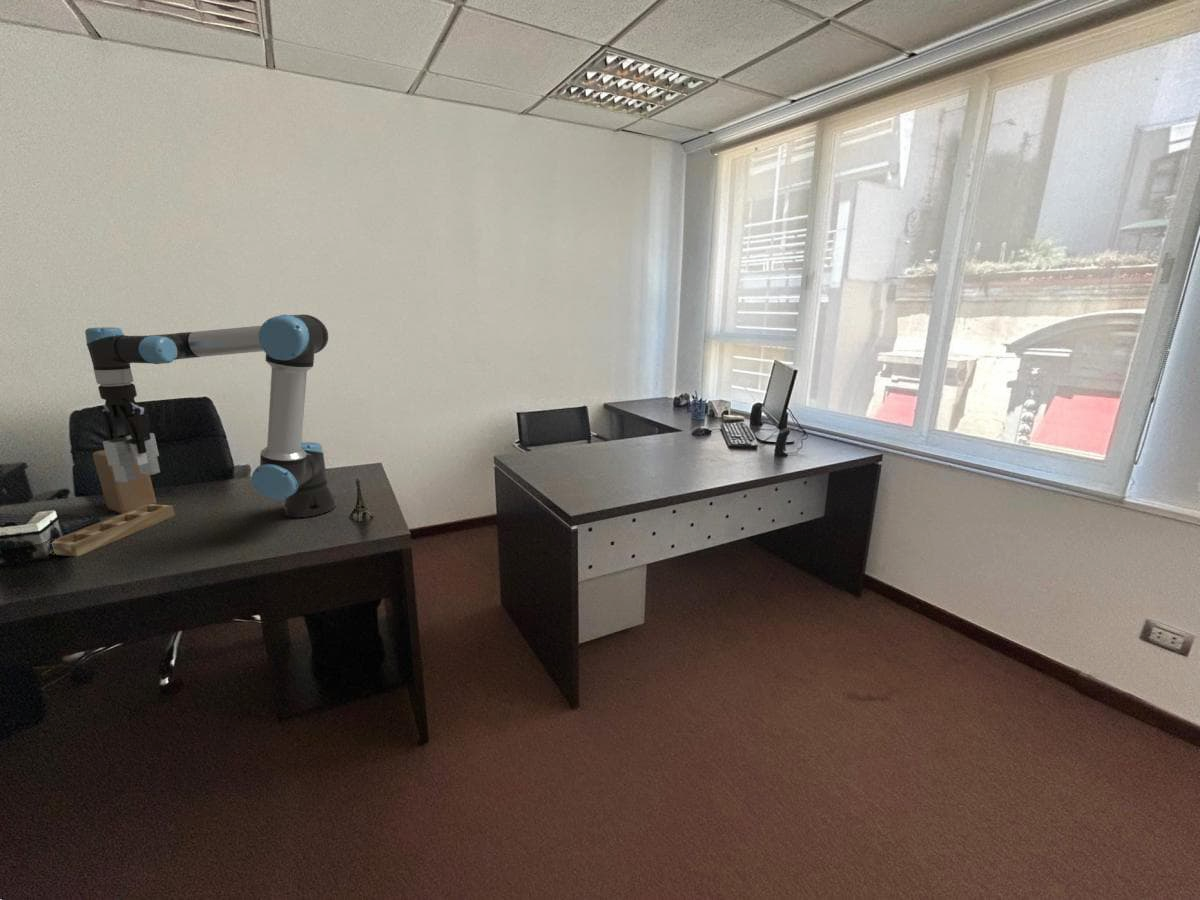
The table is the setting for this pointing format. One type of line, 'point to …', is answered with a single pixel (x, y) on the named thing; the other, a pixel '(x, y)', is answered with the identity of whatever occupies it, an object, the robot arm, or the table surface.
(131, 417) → the robot arm
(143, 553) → the table surface
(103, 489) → the wooden block
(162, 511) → the rail
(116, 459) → the grey concrete brick
